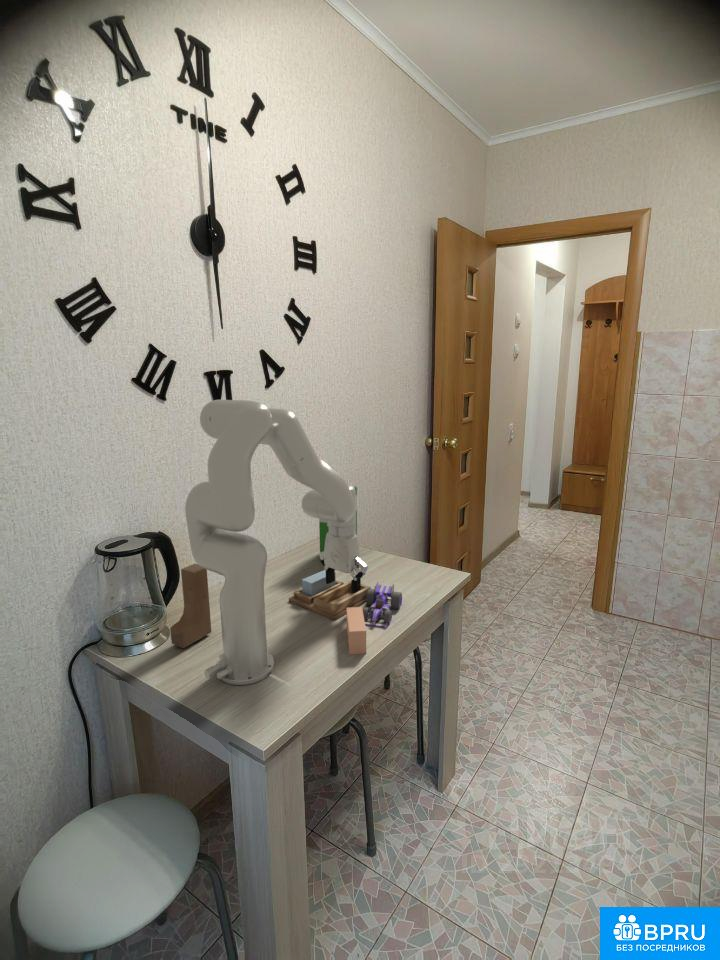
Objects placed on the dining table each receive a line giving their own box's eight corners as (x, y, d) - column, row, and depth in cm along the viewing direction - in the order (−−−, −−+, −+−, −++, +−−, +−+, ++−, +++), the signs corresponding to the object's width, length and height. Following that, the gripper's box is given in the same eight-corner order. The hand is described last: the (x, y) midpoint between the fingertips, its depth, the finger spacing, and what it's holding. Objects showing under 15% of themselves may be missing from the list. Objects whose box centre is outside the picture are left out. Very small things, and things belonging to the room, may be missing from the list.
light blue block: (311, 599, 141) (311, 583, 140) (302, 595, 144) (301, 579, 143) (335, 588, 149) (335, 572, 147) (326, 584, 151) (326, 569, 150)
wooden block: (183, 649, 118) (177, 579, 114) (170, 643, 120) (164, 575, 116) (212, 632, 125) (207, 566, 121) (200, 627, 128) (194, 562, 124)
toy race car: (355, 626, 129) (355, 603, 127) (370, 601, 143) (370, 580, 141) (391, 631, 126) (391, 608, 125) (402, 605, 140) (402, 584, 139)
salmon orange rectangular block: (366, 653, 116) (366, 630, 115) (349, 654, 116) (349, 631, 114) (362, 628, 128) (361, 606, 126) (346, 628, 127) (346, 607, 126)
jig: (334, 620, 131) (334, 608, 130) (288, 601, 142) (288, 589, 142) (373, 598, 144) (373, 587, 143) (328, 582, 155) (328, 571, 154)
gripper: (310, 526, 138) (311, 583, 142) (357, 539, 127) (357, 600, 131) (328, 520, 144) (329, 575, 147) (375, 532, 133) (375, 591, 137)
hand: (342, 587), depth 139 cm, fingers open, 9 cm apart
